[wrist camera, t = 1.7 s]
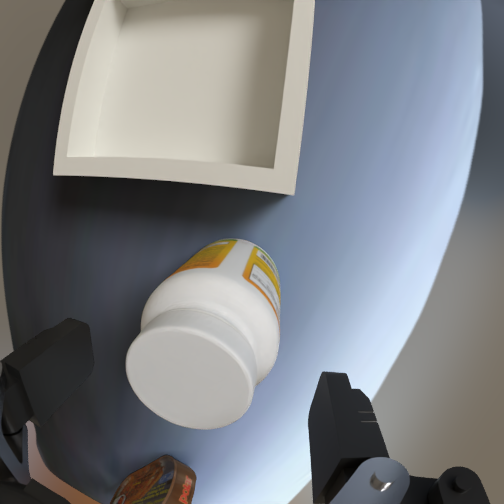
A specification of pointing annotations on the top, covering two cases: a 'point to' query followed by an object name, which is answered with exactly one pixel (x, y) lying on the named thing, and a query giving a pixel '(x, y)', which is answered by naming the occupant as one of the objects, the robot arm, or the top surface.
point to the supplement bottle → (208, 336)
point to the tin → (158, 484)
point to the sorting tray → (189, 92)
